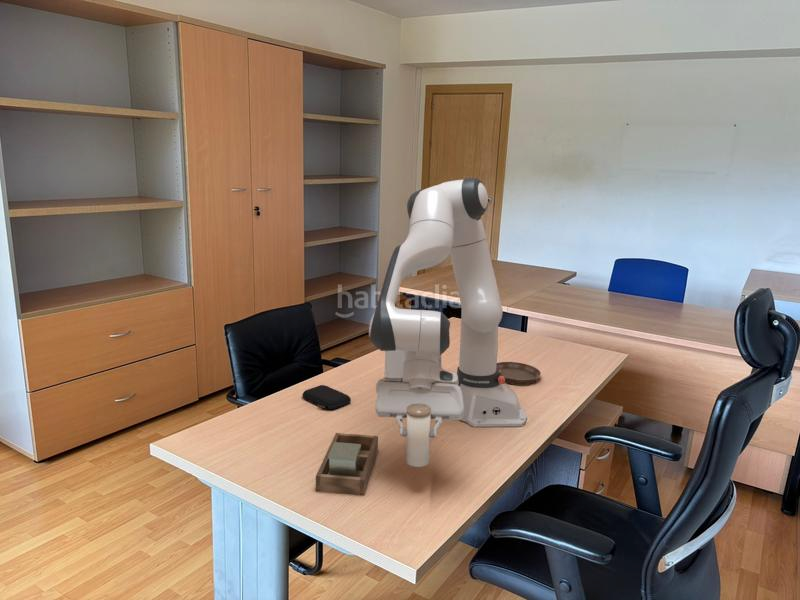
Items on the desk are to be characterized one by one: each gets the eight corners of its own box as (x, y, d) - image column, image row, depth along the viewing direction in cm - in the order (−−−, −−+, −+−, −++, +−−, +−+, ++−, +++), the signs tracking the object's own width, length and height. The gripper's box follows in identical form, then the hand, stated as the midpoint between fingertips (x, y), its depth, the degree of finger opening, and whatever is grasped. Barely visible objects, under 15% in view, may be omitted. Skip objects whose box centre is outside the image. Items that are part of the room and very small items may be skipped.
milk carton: (384, 383, 194) (385, 330, 190) (405, 383, 195) (406, 330, 190) (385, 391, 187) (387, 336, 183) (407, 391, 188) (409, 336, 184)
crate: (377, 453, 148) (378, 436, 146) (364, 500, 127) (364, 480, 126) (335, 450, 149) (335, 432, 148) (315, 495, 128) (315, 476, 127)
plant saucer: (536, 370, 211) (537, 362, 211) (543, 389, 194) (544, 380, 194) (488, 367, 213) (489, 359, 212) (491, 385, 196) (491, 377, 195)
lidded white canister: (430, 455, 132) (431, 404, 128) (429, 467, 126) (430, 414, 123) (406, 454, 132) (407, 403, 129) (405, 466, 127) (405, 413, 124)
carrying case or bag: (296, 400, 180) (327, 414, 170) (296, 391, 179) (327, 405, 169) (322, 390, 187) (353, 404, 178) (322, 382, 187) (353, 395, 177)
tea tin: (360, 473, 136) (361, 444, 134) (355, 488, 130) (356, 457, 128) (334, 471, 136) (334, 442, 134) (328, 486, 130) (328, 455, 128)
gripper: (375, 371, 132) (370, 429, 125) (464, 375, 131) (464, 433, 124) (378, 382, 138) (373, 438, 130) (463, 385, 136) (463, 442, 129)
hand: (418, 436), depth 127 cm, fingers closed on lidded white canister, 5 cm apart
